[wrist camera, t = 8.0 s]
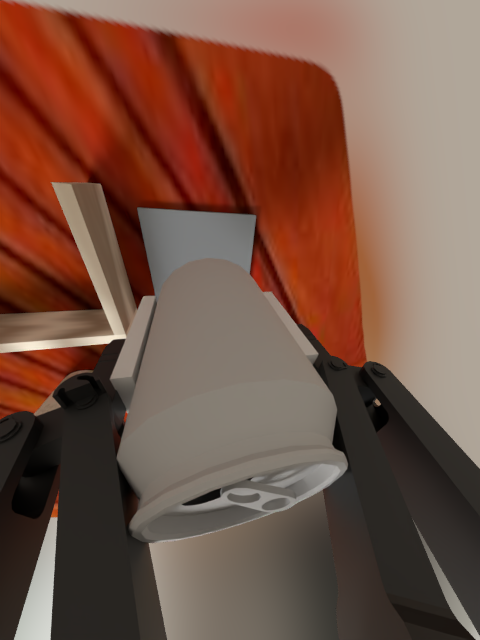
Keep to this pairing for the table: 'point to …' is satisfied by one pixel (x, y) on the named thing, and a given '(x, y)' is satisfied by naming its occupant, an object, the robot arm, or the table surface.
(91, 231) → the u-shaped shelf bracket
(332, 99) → the table surface
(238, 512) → the can
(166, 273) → the mat
